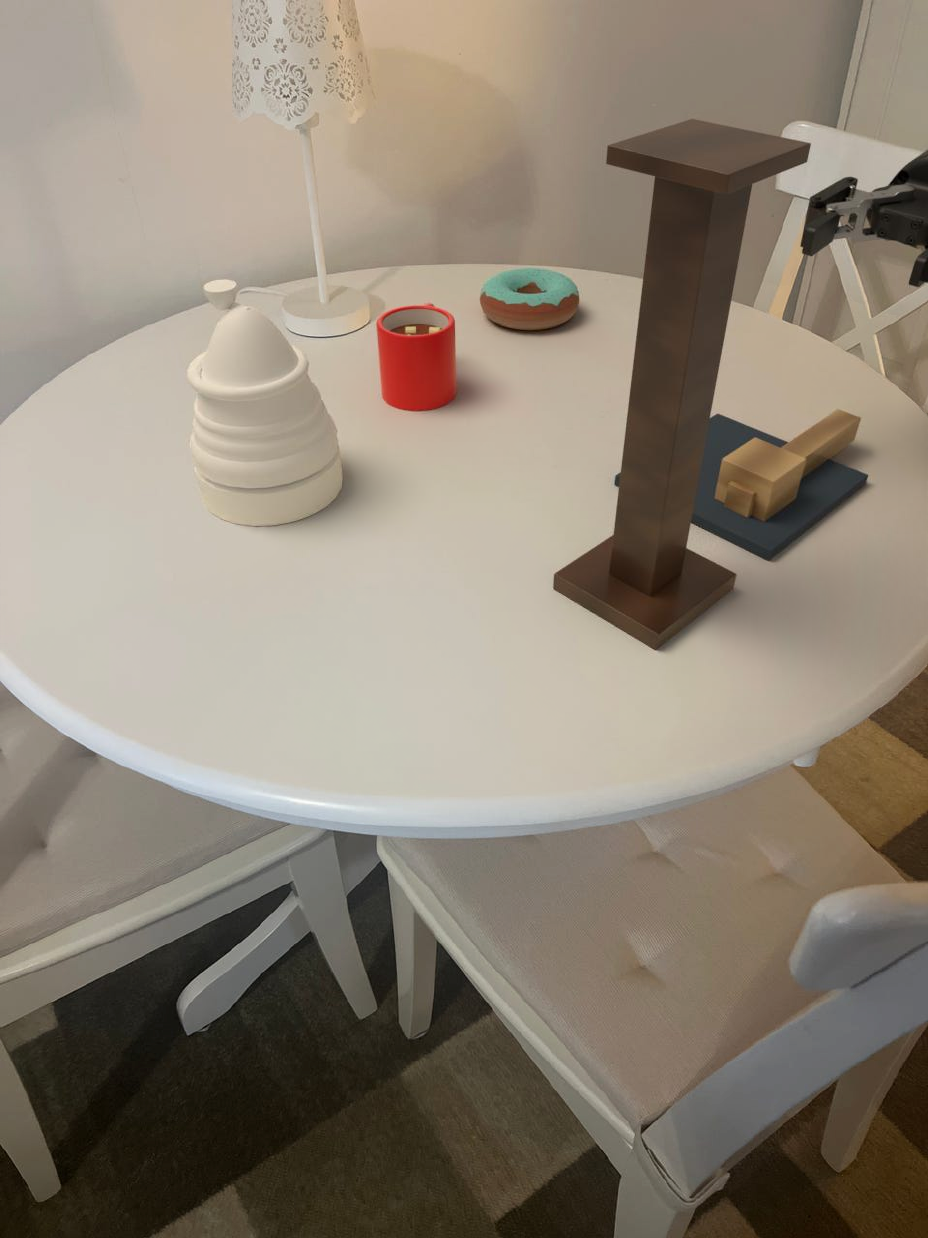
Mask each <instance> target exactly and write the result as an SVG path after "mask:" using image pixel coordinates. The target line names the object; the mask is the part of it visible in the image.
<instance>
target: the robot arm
mask: <svg viewBox="0 0 928 1238" xmlns="http://www.w3.org/2000/svg"><path fill="white" fill-rule="evenodd" d="M858 181H859V180H858V178H857V177H853V176H846V177H843V178H841V179H839V180H838V181H837V180H836V181H835V182H834V183H833V184H830V185H828V186H827V187H825V188H824V189H821V190H820V191H818V192H817V193H815V194H812V195H811V196H810V197H809V201H808V206H807V211H806V215H805V220H804V225H803V231H802V236H801V239H800V240H801V241H800V246H799V247H800V248H802V249H801V254H802V255H804V256H808V257H813V256H815V255H816V254H817V253H819V252H821V250H823V249H824V248H826V247H827V246H829V245H830V244H831V243H833V242H834V240H841V239H847V238H848V239H849V240H850V241H851V242H852V243H862V242H863V243H864V242H870V241H871V242H872V241H877V240H884V241H885V242H892V241H895V242H898V243H900V244H903V245H906V246H909V247H911V248H914V249H917V250H918V251H921V253H920V254H919V255H918V256H917V257H916V258H915V260H914V263H913V266H912V269H911V273H910V276H909V280H908V285H909V286H912V287H916V288H920V287H921V286H923V285H924V284H925V283H926V284H928V149H926V150H925V151H923V152H922V153H921V154H919V155H917V156H916V157H915V158H913V159H911V160H910V161H909V162H908V163H907V164H905V165H904V166H903V167H902V168H901V169H900V170H899V171H898V172H897V173H896V175H895V176H894V177H893V178H892V179H891V180H890V182H889V183H888V184H887V185H885V186H882V187H877V188H874V189H873V190H871V191H866V190H862V189H858V188H857V185H858V183H859V182H858ZM842 217H844V218H847V217H848V220H847V223H846V224H845V225H840V221H841V218H842ZM866 219H867V222H868V226H869V227H865V228H864V226H865V222H866ZM839 225H840V226H839Z"/></svg>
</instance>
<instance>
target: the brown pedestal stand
mask: <svg viewBox="0 0 928 1238" xmlns="http://www.w3.org/2000/svg"><path fill="white" fill-rule="evenodd" d="M811 146H812V143H811V142H806V141H803V140H798V139H793V138H786V137H784V136H783V137H782V136H779V135H778V136H777V135H773V134H767V133H763V132H760V131H759V132H758V131H753V130H748V129H744V128H739V127H734V126H728V125H724V124H720V123H714V122H710V121H704V120H700V119H696V118H690V119H687V120H683V121H680V122H677V123H674V124H671V125H667V126H665V127H661V128H659V129H655V130H652V131H648V132H646V133H643V134H639V135H636V136H633V137H630V138H627V139H623V140H620V141H617V142H614V143H610V144H607V145H606V147H607V148H606V160H605V164H606V165H608V166H612V167H616V168H620V169H624V170H628V171H632V172H634V173H635V172H636V173H640V174H642V175H643V174H644V175H648V176H651V177H654V180H653V189H652V190H653V191H652V198H651V205H650V206H651V207H650V216H649V224H648V232H647V233H648V234H647V241H646V250H645V251H646V252H645V259H644V268H643V275H642V284H641V292H640V293H641V294H640V303H639V311H638V318H637V319H638V320H637V328H636V337H635V345H634V354H633V361H632V362H633V363H632V371H631V380H630V387H629V397H628V404H627V414H626V416H627V417H626V423H625V432H624V439H623V449H622V458H621V465H620V466H621V467H620V472H621V474H620V483H619V487H618V492H617V494H618V495H617V501H616V510H615V519H614V527H613V534H612V535H611V536H609V537H607V538H606V539H605V540H602V542H600V543H599V544H597V545H596V546H594V547H592V548H591V549H589V550H588V551H586V552H585V553H584V554H581V556H578V557H577V558H576V559H574V560H572V561H571V562H569V563H568V564H567V565H565V566H564V567H562V568H561V569H559V570H558V571H556V572H554V574H553V584H552V585H553V586H552V588H553V590H555V591H557V592H558V593H559V594H562V595H563V596H565V597H566V598H568V599H570V600H572V601H573V602H574V603H577V604H578V605H580V606H581V607H583V608H584V609H586V610H588V611H590V612H591V613H593V614H595V615H597V616H598V617H600V618H601V619H604V620H605V621H607V622H608V623H610V624H612V625H613V626H614V627H617V628H618V629H619V630H621V631H623V632H624V633H626V634H628V635H630V636H631V637H633V638H635V639H636V640H638V641H640V642H641V643H643V644H645V645H646V646H648V647H649V648H651V649H653V650H655V651H656V650H658V649H659V648H660V647H661V646H663V645H664V644H665V643H667V642H668V641H669V640H670V639H672V638H673V637H674V636H675V635H676V634H678V633H679V632H680V631H681V630H683V629H684V628H685V627H687V626H688V625H689V624H690V623H692V622H693V621H694V620H696V619H697V618H698V617H699V616H701V615H702V614H703V613H704V612H706V611H707V610H708V609H710V608H711V607H712V606H713V605H714V604H716V603H717V602H718V601H720V600H721V599H722V598H723V597H724V596H726V595H727V594H729V592H731V591H733V589H734V587H735V583H736V579H737V573H736V572H734V571H732V570H730V569H729V568H726V567H724V566H722V565H720V564H719V563H716V562H715V561H713V560H711V559H708V558H707V557H706V556H703V555H701V554H699V553H697V552H695V551H693V550H691V549H689V548H687V545H688V540H689V536H690V530H691V524H692V523H691V519H692V514H693V508H694V503H695V497H696V492H697V486H698V481H699V475H700V470H701V464H702V459H703V453H704V448H705V442H706V437H707V431H708V426H709V420H710V418H711V415H712V414H711V413H712V409H713V403H714V399H715V392H716V386H717V381H718V376H719V370H720V365H721V359H722V354H723V347H724V342H725V337H726V331H727V326H728V321H729V314H730V311H731V310H730V309H731V305H732V299H733V293H734V288H735V282H736V276H737V271H738V266H739V260H740V254H741V249H742V243H743V239H744V238H743V237H744V233H745V227H746V222H747V216H748V211H749V206H750V201H751V200H750V199H751V195H752V188H753V185H754V184H756V183H758V182H761V181H763V180H767V179H768V178H771V177H773V176H776V175H778V174H781V173H783V172H786V171H789V170H792V169H794V168H796V167H798V166H799V167H800V166H802V165H804V164H806V163H808V160H809V155H810V151H811Z"/></svg>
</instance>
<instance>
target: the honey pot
mask: <svg viewBox="0 0 928 1238" xmlns="http://www.w3.org/2000/svg"><path fill="white" fill-rule="evenodd" d="M203 291H204V294H205V296H206V299H207V300H208V302H209V303H210V305H212V306H213V307H214V308H215V309H217V310H220V311H226V312H225V313H224V314H223V315H222V316H221V317H220V319H219V320H218V322H217V324H216V326H215V328H214V330H213V332H212V335H211V337H210V340H209V342H208V346H207V349H206V350H205V351H203V352H202V353H200V354H199V355H197V356H196V357H195V358H194V359H193V360H192V361H191V362H190V364H188V367H187V371H186V378H187V382H188V384H189V386H191V388H192V389H193V390H194V391H195V392H196V393H197V395H196V398H195V400H194V404H193V406H192V411H193V415H194V416H193V418H192V419H193V420H192V424H191V425H192V431H191V434H190V438H189V443H188V444H189V446H188V447H189V452H190V456H191V459H192V464H193V468H194V471H195V477H196V481H197V485H198V489H199V494H200V497H201V501H202V504H203V506H204V507H205V508H206V509H207V511H208V512H209V513H211V514H212V515H213V516H215V517H217V518H219V519H220V520H223V521H225V522H229V523H233V524H236V525H241V526H250V527H268V526H269V527H270V526H278V525H279V526H280V525H283V524H288V523H294V522H297V521H300V520H302V519H306V518H308V517H311V516H313V515H315V514H316V513H318V512H320V511H322V510H324V509H325V508H327V507H328V506H329V505H330V504H331V503H332V502H333V501H334V500H335V499H336V498H337V497H338V495H339V494H340V493H341V490H342V488H343V480H344V478H343V477H344V475H343V468H342V460H341V459H342V458H341V450H340V445H339V438H338V428H337V425H336V423H335V421H334V418H333V416H332V415H331V414H330V413H329V412H328V409H327V407H326V405H325V402H324V400H323V399H322V395H321V393H320V391H319V388H318V386H317V385H316V384H315V383H313V381H312V379H311V378H310V376H309V373H308V372H309V366H310V363H309V360H308V358H307V356H306V354H305V353H304V351H302V350H301V349H300V348H299V347H297V346H295V345H293V344H291V343H290V342H289V341H288V339H287V338H286V336H285V335H284V334H283V333H282V331H281V330H280V328H279V327H278V326H277V325H276V324H275V323H274V322H273V321H272V320H271V319H270V318H269V317H268V316H267V315H266V314H264V313H263V312H261V311H260V310H258V309H257V308H255V307H253V306H249V305H245V304H240V303H237V302H236V300H237V296H238V286H237V282H235V281H234V280H231V279H215V280H212V281H211V280H210V281H209V282H207V283H204V285H203Z"/></svg>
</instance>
